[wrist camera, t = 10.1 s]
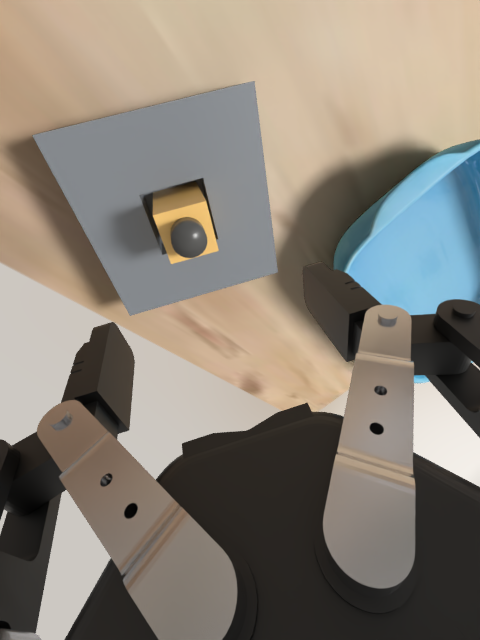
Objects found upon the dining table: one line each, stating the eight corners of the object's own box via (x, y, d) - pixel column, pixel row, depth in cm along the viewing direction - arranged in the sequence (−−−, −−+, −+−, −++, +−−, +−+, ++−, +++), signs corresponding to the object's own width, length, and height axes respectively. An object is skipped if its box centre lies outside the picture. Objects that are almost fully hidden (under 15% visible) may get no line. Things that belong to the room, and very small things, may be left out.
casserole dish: (509, 291, 49) (555, 315, 43) (394, 371, 55) (421, 401, 49) (460, 74, 28) (536, 67, 22) (282, 240, 34) (307, 267, 28)
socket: (241, 84, 24) (254, 80, 21) (266, 256, 34) (277, 272, 31) (48, 131, 23) (32, 135, 20) (132, 295, 33) (130, 315, 30)
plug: (195, 181, 27) (209, 206, 20) (206, 223, 29) (222, 258, 23) (152, 192, 27) (152, 222, 20) (167, 234, 29) (171, 272, 22)
